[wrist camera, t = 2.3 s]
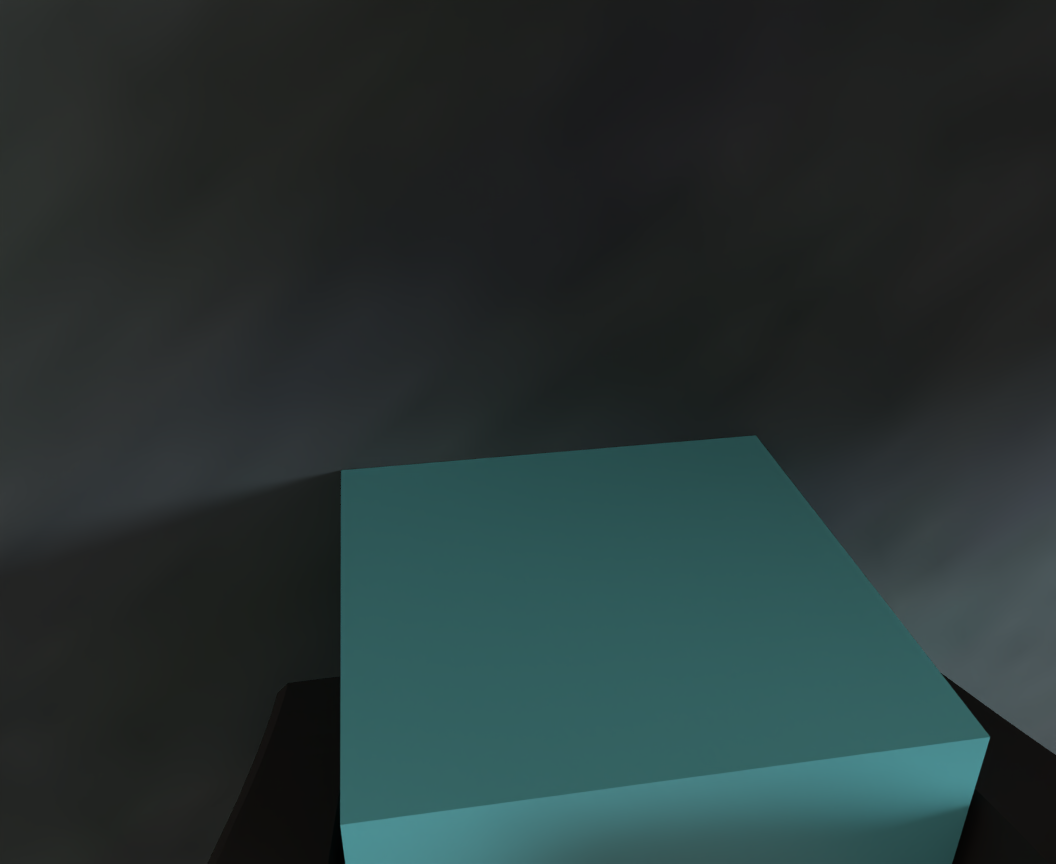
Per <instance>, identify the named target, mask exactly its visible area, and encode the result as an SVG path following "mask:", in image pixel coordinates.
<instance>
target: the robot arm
mask: <svg viewBox="0 0 1056 864" xmlns="http://www.w3.org/2000/svg"><path fill="white" fill-rule="evenodd" d="M941 674H942V673H941ZM942 675H943V674H942ZM943 677H944V678H945V679H946V681H947V682H948V683H949V684H950V686H951V687H952V688H953V690H954V691H955V692H956V693H957V695H958V696H959V697H960V699H961V700H962V701H963V702H964V704H965V705H966V706H967V708H968V709H969V710H970V711H971V713H972V714H973V715H974V717H975V718H976V719H977V720H978V722H979V723H980V724H981V726H982V727H983V728H984V729H985V731H986V732H987V733H988V735H989V736H990V739H989V743H988V746H987V749H986V753H985V756H984V759H983V763H982V766H981V769H980V773H979V776H978V779H977V783H976V786H975V789H974V793H973V796H972V799H971V803H970V806H969V809H968V812H967V816H966V819H965V822H964V826H963V829H962V832H961V836H960V839H959V842H958V846H957V849H956V852H955V856H954V859H953V862H952V864H1056V755H1055V754H1053V753H1052V752H1051V751H1049V750H1048V749H1046V748H1045V747H1043V746H1042V745H1040V744H1039V743H1038V742H1036V741H1035V740H1033V739H1032V738H1030V737H1029V736H1028V735H1026V734H1025V733H1023V732H1022V731H1020V730H1019V729H1018V728H1016V727H1015V726H1013V725H1012V724H1011V723H1009V722H1008V721H1006V720H1005V719H1003V718H1002V717H1001V716H999V715H998V714H997V713H995V712H994V711H992V710H991V709H990V708H988V707H987V706H985V705H984V704H983V703H981V702H980V701H979V700H977V699H976V698H974V697H973V696H972V695H970V694H969V693H968V692H966V691H965V690H963V689H962V688H961V687H959V686H958V685H957V684H955V683H954V682H953V681H951V680H950V679H948V678H947V677H946V676H944V675H943ZM340 697H341V677H333V678H325V679H317V680H309V681H301V682H293V683H288V684H287V685H286V686H285V687H284V688H283V689H282V690H281V691H280V692H279V693H278V694H277V697H276V700H275V704H274V707H273V711H272V714H271V717H270V720H269V722H268V725H267V728H266V731H265V734H264V737H263V739H262V742H261V744H260V747H259V750H258V752H257V755H256V757H255V760H254V762H253V765H252V767H251V770H250V772H249V774H248V777H247V779H246V781H245V784H244V786H243V788H242V791H241V793H240V795H239V798H238V800H237V802H236V805H235V807H234V809H233V811H232V813H231V815H230V817H229V819H228V822H227V824H226V826H225V828H224V830H223V832H222V834H221V836H220V838H219V841H218V843H217V845H216V847H215V849H214V851H213V853H212V855H211V857H210V859H209V862H208V864H345V857H344V850H343V842H342V835H341V827H340Z"/></svg>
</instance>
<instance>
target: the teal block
mask: <svg viewBox="0 0 1056 864" xmlns="http://www.w3.org/2000/svg"><path fill="white" fill-rule="evenodd" d="M989 739H990V736H989V735H988V733H987V732H986V731H985V729H984V728H983V727H982V726H981V724H980V723H979V722H978V720H977V719H976V718H975V717H974V715H973V714H972V713H971V711H970V710H969V709H968V708H967V706H966V705H965V704H964V702H963V701H962V700H961V699H960V697H959V696H958V695H957V693H956V692H955V691H954V690H953V688H952V687H951V686H950V684H949V683H948V682H947V681H946V679H945V678H944V677H943V675H942V674H941V673H940V672H939V670H938V669H937V668H936V666H935V665H934V664H933V663H932V661H931V660H930V659H929V657H928V656H927V655H926V654H925V652H924V651H923V650H922V648H921V647H920V646H919V645H918V643H917V642H916V641H915V639H914V638H913V637H912V636H911V634H910V633H909V632H908V630H907V629H906V628H905V627H904V625H903V624H902V623H901V621H900V620H899V619H898V618H897V616H896V615H895V614H894V612H893V611H892V610H891V609H890V607H889V606H888V605H887V603H886V602H885V601H884V600H883V598H882V597H881V596H880V594H879V593H878V592H877V591H876V589H875V588H874V587H873V585H872V584H871V583H870V582H869V580H868V579H867V578H866V576H865V575H864V574H863V573H862V571H861V570H860V569H859V567H858V566H857V565H856V564H855V562H854V561H853V560H852V558H851V557H850V556H849V555H848V553H847V552H846V551H845V549H844V548H843V547H842V546H841V544H840V543H839V542H838V540H837V539H836V538H835V537H834V535H833V534H832V533H831V531H830V530H829V529H828V528H827V526H826V525H825V524H824V522H823V521H822V520H821V519H820V517H819V516H818V515H817V513H816V512H815V511H814V510H813V508H812V507H811V506H810V504H809V503H808V502H807V501H806V499H805V498H804V497H803V495H802V494H801V493H800V492H799V490H798V489H797V488H796V486H795V485H794V484H793V483H792V481H791V480H790V479H789V477H788V476H787V475H786V474H785V472H784V471H783V470H782V468H781V467H780V466H779V465H778V463H777V462H776V461H775V459H774V458H773V457H772V456H771V454H770V453H769V452H768V450H767V449H766V448H765V447H764V445H763V444H762V443H761V441H760V440H759V439H758V438H757V436H756V435H754V436H742V437H730V438H718V439H706V440H695V441H683V442H671V443H659V444H647V445H635V446H623V447H612V448H600V449H588V450H576V451H564V452H552V453H540V454H529V455H517V456H505V457H493V458H481V459H469V460H457V461H446V462H434V463H422V464H410V465H398V466H386V467H374V468H362V469H351V470H341V697H340V827H341V835H342V842H343V850H344V857H345V864H952V862H953V859H954V856H955V852H956V849H957V846H958V842H959V839H960V836H961V832H962V829H963V826H964V822H965V819H966V816H967V812H968V809H969V806H970V803H971V799H972V796H973V793H974V789H975V786H976V783H977V779H978V776H979V773H980V769H981V766H982V763H983V759H984V756H985V753H986V749H987V746H988V743H989Z"/></svg>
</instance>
